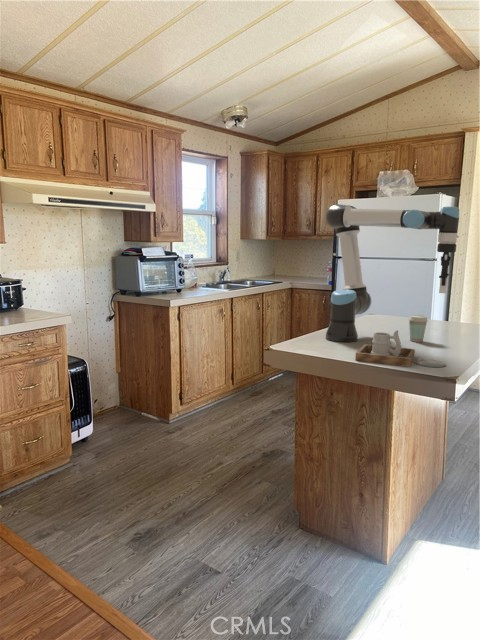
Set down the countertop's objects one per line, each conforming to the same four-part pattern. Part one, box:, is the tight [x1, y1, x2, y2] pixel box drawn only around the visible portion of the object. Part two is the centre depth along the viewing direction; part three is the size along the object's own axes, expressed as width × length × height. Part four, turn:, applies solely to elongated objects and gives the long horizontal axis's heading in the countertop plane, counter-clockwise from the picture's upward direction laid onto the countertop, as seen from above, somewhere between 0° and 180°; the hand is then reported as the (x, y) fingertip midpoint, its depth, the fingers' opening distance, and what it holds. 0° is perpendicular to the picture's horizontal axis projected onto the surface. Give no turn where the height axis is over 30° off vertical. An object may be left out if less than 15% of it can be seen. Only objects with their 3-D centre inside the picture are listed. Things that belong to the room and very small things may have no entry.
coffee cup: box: [408, 314, 428, 343], centre depth 228 cm, size 9×8×12 cm
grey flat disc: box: [414, 358, 446, 368], centre depth 186 cm, size 11×11×1 cm
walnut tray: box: [355, 343, 416, 367], centre depth 194 cm, size 20×18×3 cm
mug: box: [370, 330, 402, 357], centre depth 193 cm, size 8×12×12 cm, turn 58°
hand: (442, 291), depth 212 cm, fingers open, 13 cm apart
